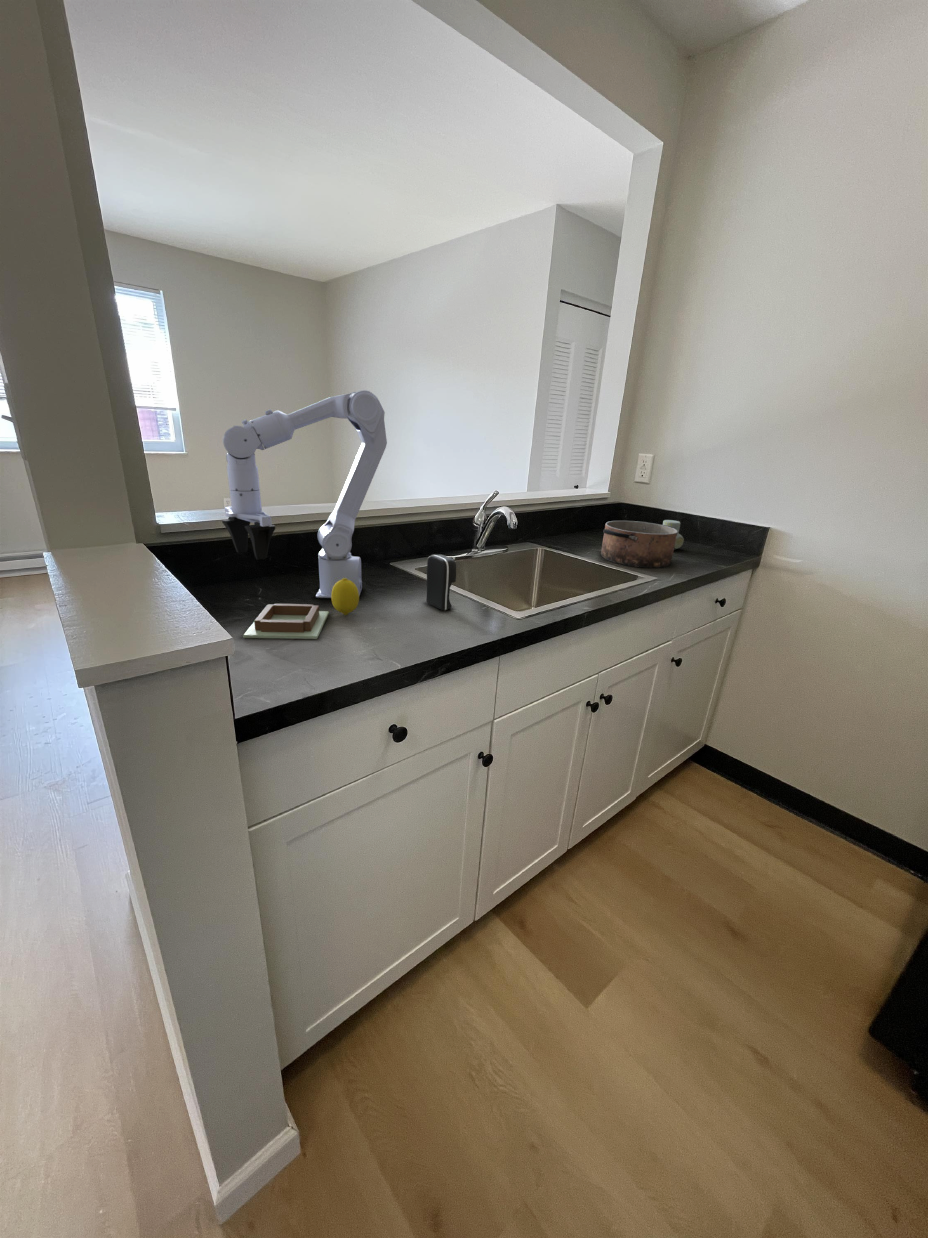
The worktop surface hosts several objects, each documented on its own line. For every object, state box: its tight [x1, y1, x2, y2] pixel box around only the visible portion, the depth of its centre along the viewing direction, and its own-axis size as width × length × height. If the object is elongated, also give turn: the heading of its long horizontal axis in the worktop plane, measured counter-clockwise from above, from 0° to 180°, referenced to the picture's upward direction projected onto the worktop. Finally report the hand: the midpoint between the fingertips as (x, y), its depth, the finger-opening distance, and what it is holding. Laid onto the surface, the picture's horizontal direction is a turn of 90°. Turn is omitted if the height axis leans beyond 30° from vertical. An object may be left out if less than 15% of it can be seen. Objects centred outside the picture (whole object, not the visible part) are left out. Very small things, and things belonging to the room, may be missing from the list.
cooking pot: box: [600, 520, 678, 569], centre depth 162 cm, size 30×22×11 cm
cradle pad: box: [242, 603, 330, 640], centre depth 95 cm, size 13×13×3 cm
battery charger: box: [425, 554, 457, 611], centre depth 109 cm, size 7×4×11 cm, turn 37°
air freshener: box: [662, 519, 685, 551], centre depth 182 cm, size 11×8×10 cm
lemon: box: [330, 578, 360, 616], centre depth 101 cm, size 6×6×8 cm
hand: (251, 555), depth 105 cm, fingers open, 7 cm apart
